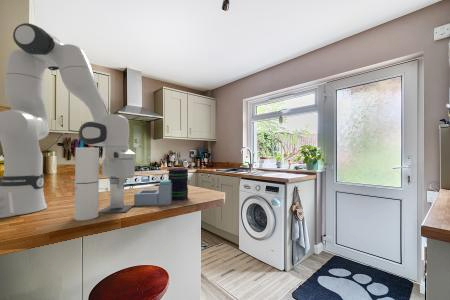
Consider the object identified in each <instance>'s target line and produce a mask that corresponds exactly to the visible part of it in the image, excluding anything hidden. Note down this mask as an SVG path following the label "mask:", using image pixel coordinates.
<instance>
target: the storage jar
mask: <svg viewBox="0 0 450 300" xmlns="http://www.w3.org/2000/svg"><path fill="white" fill-rule="evenodd" d="M168 180H171V183H172V201H173V202H175V201H176V202H178V201H186V200H188V198H189V197H188V195H189V187H188V180H189V169H188V168H169V169H168Z"/></svg>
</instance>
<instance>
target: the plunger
mask: <svg viewBox="0 0 450 300" xmlns="http://www.w3.org/2000/svg"><path fill="white" fill-rule="evenodd" d="M170 183H171V180H169V179H167V180H165V179H163V180H160V181H159V184H162V185H163V184H170Z"/></svg>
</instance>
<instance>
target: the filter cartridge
mask: <svg viewBox="0 0 450 300" xmlns="http://www.w3.org/2000/svg"><path fill="white" fill-rule="evenodd" d="M119 181H120V180H119V177H115V178H110V181H109V206H110V207H119V206H123V205H125V204H124V203H125V201H124V200H125V199H124V197H125V191H124V190H125V187H124V188H123V189H118V184H119Z"/></svg>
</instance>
